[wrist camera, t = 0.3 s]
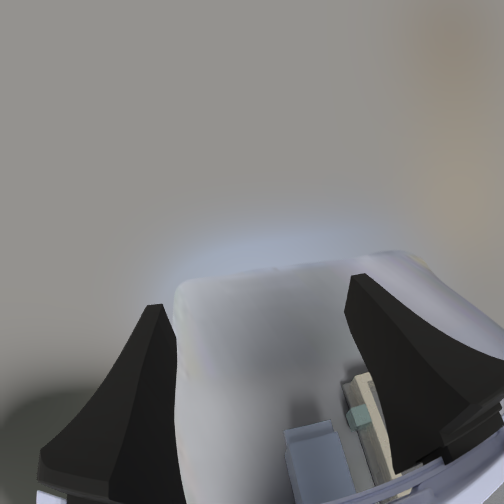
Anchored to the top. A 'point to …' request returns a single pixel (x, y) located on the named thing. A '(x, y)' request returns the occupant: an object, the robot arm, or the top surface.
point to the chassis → (371, 430)
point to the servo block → (317, 464)
